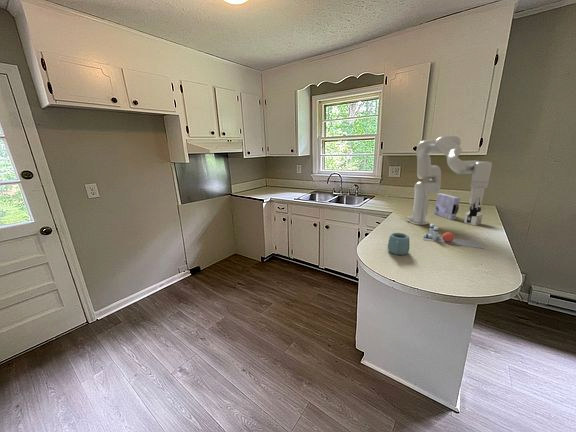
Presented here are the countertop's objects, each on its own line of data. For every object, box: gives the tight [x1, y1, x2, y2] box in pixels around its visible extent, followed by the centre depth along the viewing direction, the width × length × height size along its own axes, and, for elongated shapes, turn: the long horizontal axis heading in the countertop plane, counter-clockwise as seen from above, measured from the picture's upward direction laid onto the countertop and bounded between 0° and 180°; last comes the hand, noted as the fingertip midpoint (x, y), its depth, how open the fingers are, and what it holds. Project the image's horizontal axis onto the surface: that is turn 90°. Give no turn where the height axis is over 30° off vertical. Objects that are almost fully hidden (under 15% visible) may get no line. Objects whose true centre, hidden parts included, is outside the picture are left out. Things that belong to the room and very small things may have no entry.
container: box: [464, 205, 484, 226], centre depth 177 cm, size 8×8×13 cm
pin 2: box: [432, 226, 439, 242], centre depth 148 cm, size 2×2×8 cm
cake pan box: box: [433, 192, 461, 221], centre depth 194 cm, size 19×5×18 cm, turn 9°
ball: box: [441, 231, 455, 242], centre depth 146 cm, size 6×6×6 cm
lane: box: [422, 236, 484, 249], centre depth 148 cm, size 30×10×1 cm, turn 60°
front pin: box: [423, 233, 441, 239], centre depth 152 cm, size 2×2×8 cm
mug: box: [387, 232, 410, 256], centre depth 132 cm, size 15×11×10 cm
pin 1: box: [428, 223, 436, 235], centre depth 154 cm, size 2×2×8 cm
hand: (472, 215), depth 139 cm, fingers closed
